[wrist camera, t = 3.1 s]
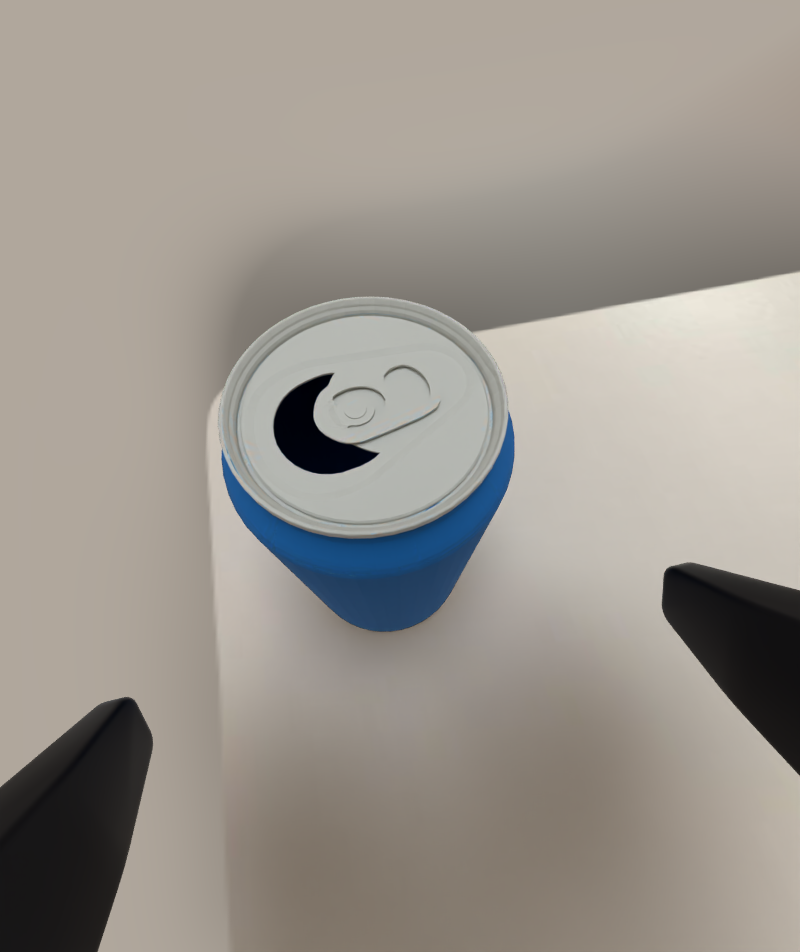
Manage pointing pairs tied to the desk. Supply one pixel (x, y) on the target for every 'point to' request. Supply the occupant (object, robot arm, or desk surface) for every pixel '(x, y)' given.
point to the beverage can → (368, 453)
